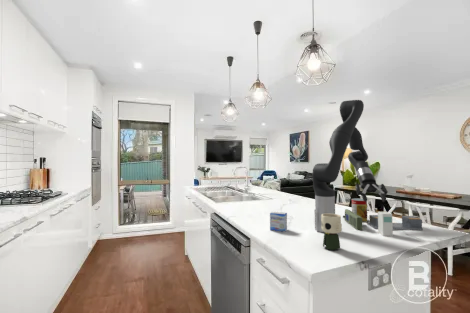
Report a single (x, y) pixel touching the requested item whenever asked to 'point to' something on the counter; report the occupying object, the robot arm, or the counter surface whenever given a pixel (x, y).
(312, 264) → the counter surface
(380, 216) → the block
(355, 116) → the robot arm
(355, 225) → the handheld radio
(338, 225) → the character mug
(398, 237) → the counter surface
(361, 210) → the canned food
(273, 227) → the medicine box
